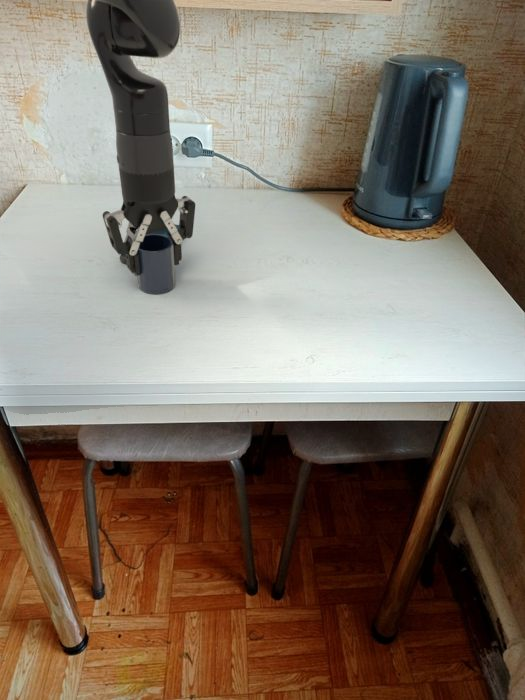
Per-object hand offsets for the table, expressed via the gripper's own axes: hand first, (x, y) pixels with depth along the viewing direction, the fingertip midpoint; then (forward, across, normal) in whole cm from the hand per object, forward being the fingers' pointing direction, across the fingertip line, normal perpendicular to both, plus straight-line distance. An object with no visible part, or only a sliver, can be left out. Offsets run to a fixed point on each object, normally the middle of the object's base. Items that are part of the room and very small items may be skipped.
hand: (155, 267), depth 81 cm
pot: (+3, 0, 0) cm, 3 cm away
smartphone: (+3, +5, +12) cm, 13 cm away
